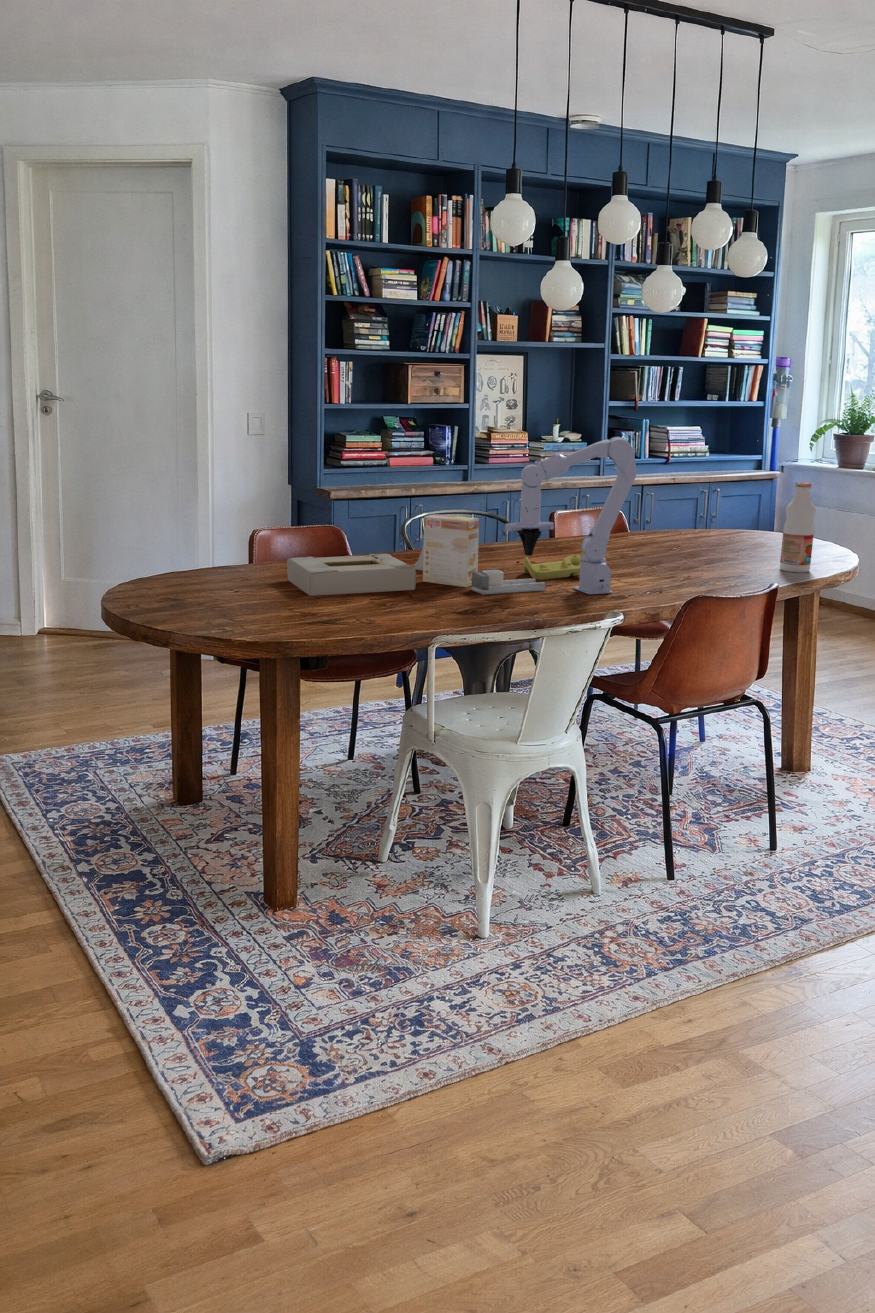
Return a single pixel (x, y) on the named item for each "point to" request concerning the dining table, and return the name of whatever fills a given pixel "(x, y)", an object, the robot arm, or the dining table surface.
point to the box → (350, 574)
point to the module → (494, 577)
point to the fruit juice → (798, 531)
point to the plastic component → (553, 568)
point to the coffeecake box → (450, 549)
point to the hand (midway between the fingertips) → (528, 555)
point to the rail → (504, 585)
